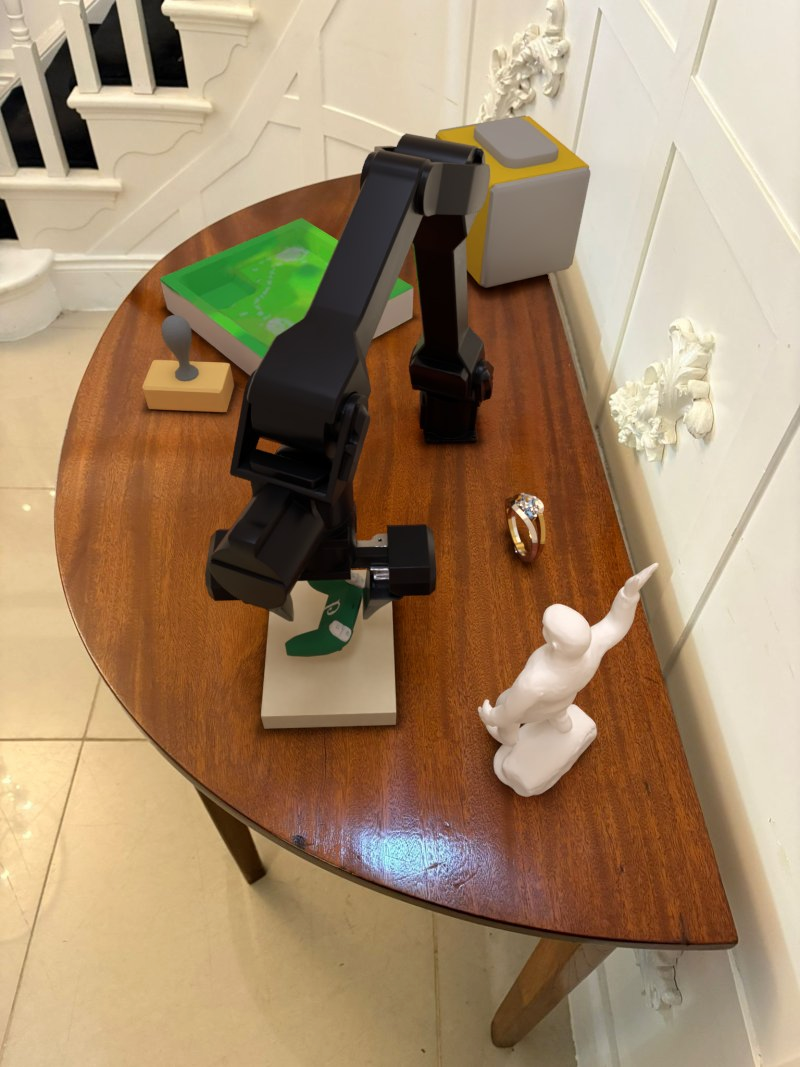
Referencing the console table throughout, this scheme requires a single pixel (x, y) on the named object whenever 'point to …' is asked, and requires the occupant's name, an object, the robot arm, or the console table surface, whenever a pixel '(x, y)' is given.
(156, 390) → the rubber stamp
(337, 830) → the console table surface
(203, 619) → the console table surface
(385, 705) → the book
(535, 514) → the ring
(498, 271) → the alarm clock
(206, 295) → the tray
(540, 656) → the figurine
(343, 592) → the green curved piece
